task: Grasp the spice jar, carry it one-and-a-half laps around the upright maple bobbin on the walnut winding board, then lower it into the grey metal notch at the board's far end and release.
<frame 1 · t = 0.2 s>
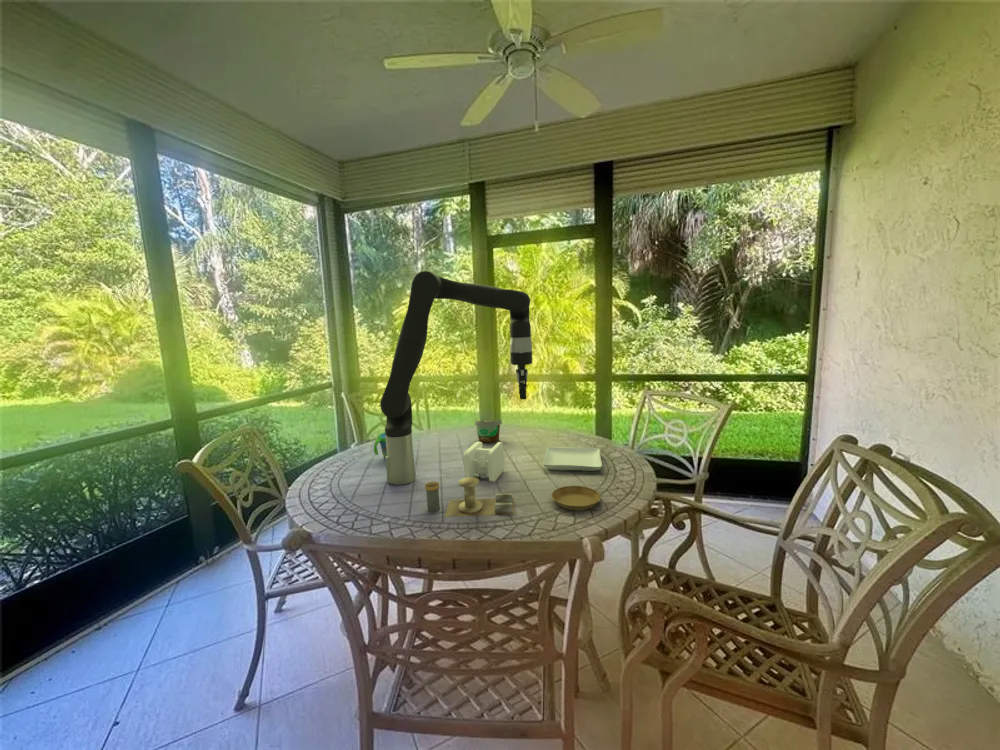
hand: (522, 396, 152), 29 cm above the table, fingers open, 8 cm apart
food container: (487, 442, 198), on the table
bobbin: (470, 508, 130), resting on winding board
cable organizer: (485, 477, 157), on the table
spice jar: (434, 513, 130), on the table
winding board: (480, 510, 130), on the table
salad plate: (572, 464, 167), on the table
plant saucer: (576, 503, 133), on the table
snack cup: (393, 458, 182), on the table
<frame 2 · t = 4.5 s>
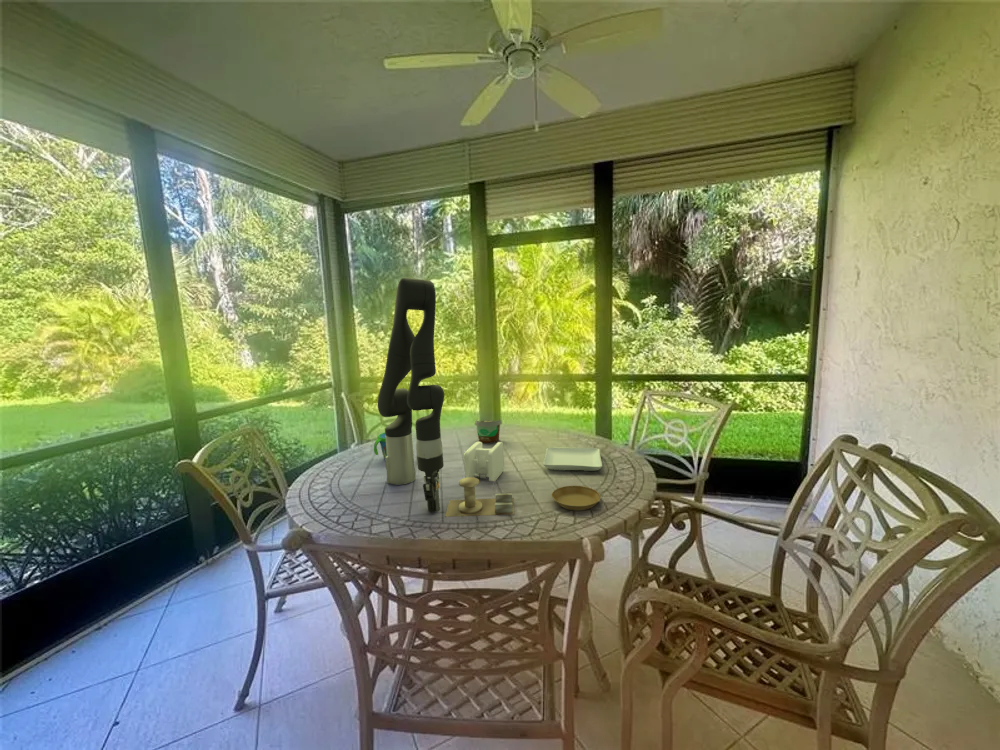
hand: (433, 507, 130), 2 cm above the table, fingers closed on spice jar, 3 cm apart
spice jar: (434, 513, 130), on the table, touching gripper
everything else where it was.
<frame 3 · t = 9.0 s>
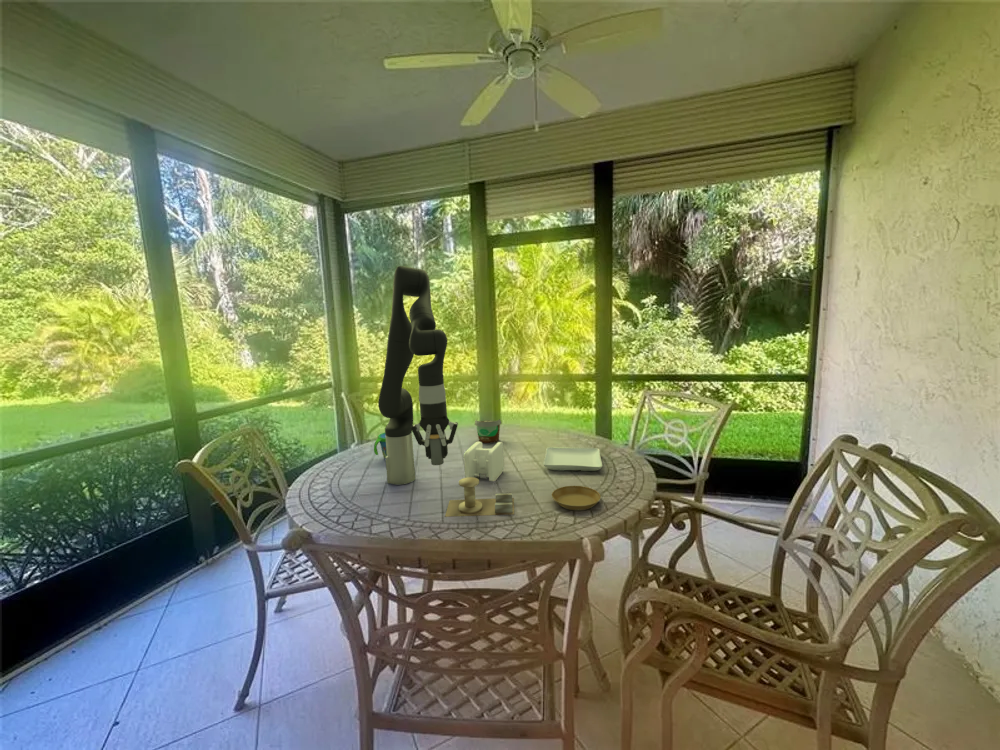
hand: (437, 457, 127), 17 cm above the table, fingers closed on spice jar, 3 cm apart
spice jar: (437, 463, 127), point 16 cm above the table, touching gripper
everything else where it was.
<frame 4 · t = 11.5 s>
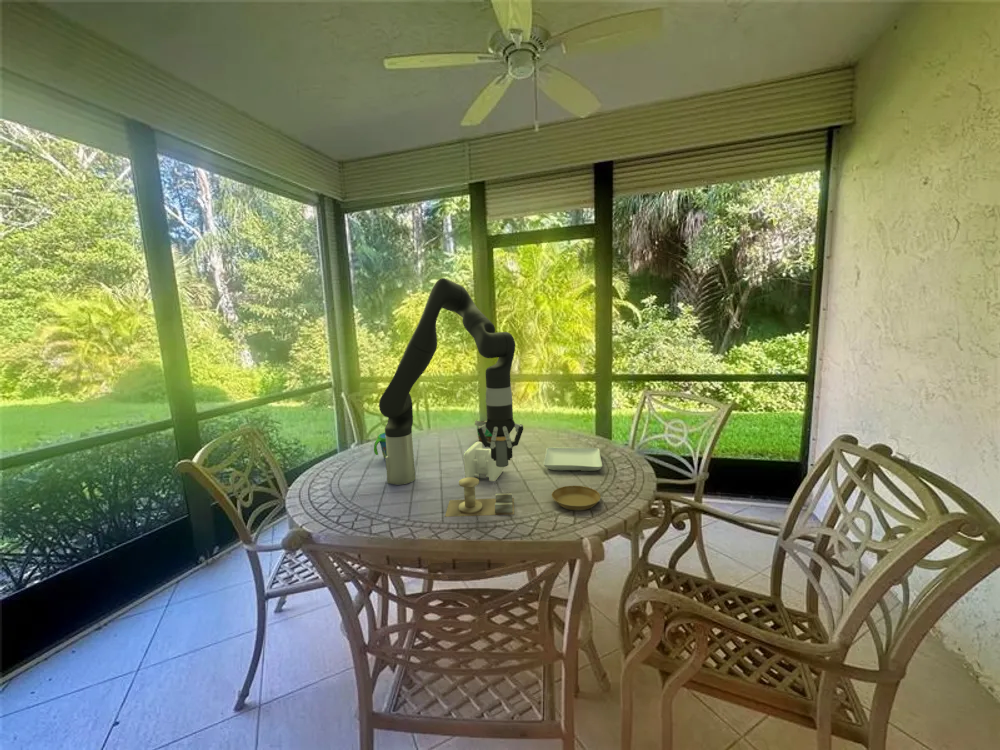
hand: (501, 459, 127), 16 cm above the table, fingers closed on spice jar, 3 cm apart
spice jar: (502, 464, 127), point 14 cm above the table, touching gripper
everything else where it was.
when the fingers open (4 cm above the table, at t = 13.8 s): spice jar drops 1 cm, resting on winding board.
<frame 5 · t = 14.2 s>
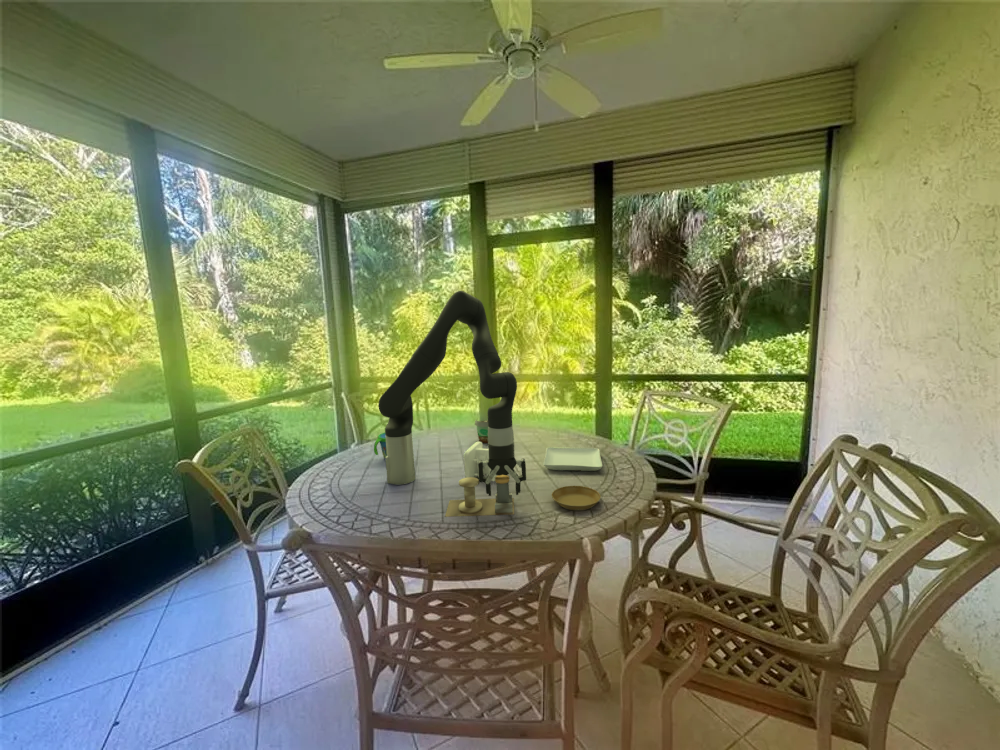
hand: (503, 494, 129), 5 cm above the table, fingers open, 7 cm apart
spice jar: (503, 506, 129), point 1 cm above the table, touching winding board
everything else where it was.
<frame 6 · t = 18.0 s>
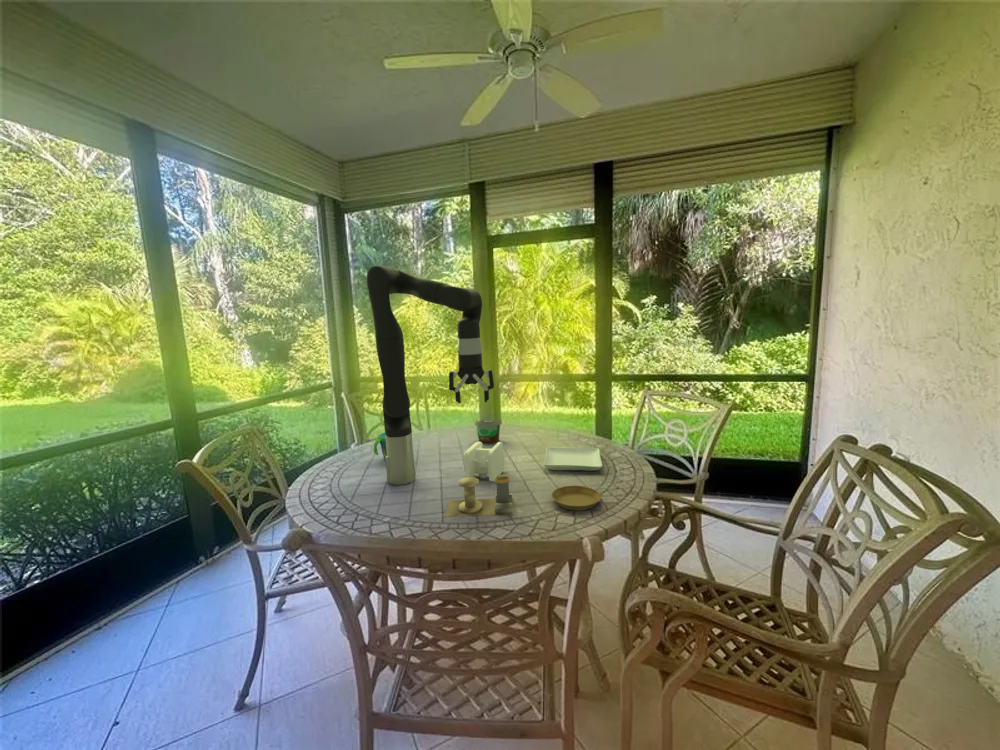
hand: (472, 402, 140), 30 cm above the table, fingers open, 8 cm apart
nothing on the table moved.
at the end: spice jar inside the target area (0.1 cm from its centre), point 1.4 cm above the table; spice jar tilted 0°; the gripper is holding nothing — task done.
